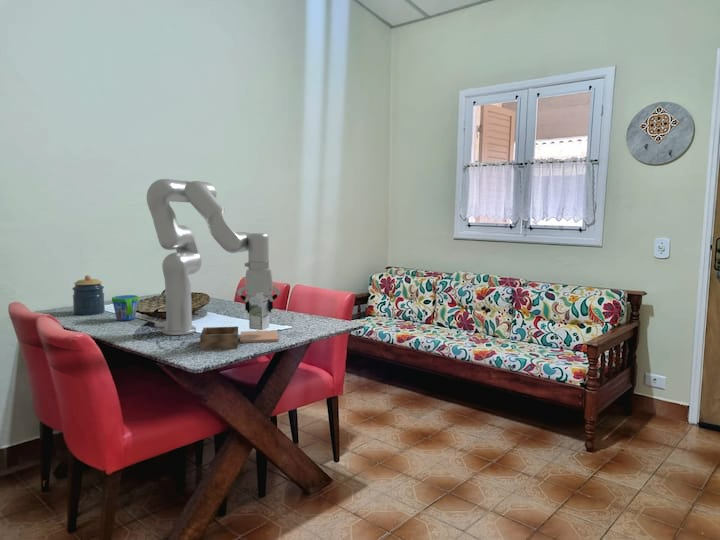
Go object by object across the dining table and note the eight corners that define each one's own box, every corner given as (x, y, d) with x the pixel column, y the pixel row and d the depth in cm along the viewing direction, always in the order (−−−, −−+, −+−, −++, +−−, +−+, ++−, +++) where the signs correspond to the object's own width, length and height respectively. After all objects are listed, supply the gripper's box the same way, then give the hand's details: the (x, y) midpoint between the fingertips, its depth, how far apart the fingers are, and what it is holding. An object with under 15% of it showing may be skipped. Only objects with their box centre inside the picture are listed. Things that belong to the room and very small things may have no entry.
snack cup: (111, 317, 226) (110, 294, 225) (136, 315, 231) (135, 293, 230) (114, 324, 213) (113, 300, 211) (141, 321, 218) (140, 298, 217)
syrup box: (269, 327, 195) (269, 290, 194) (261, 330, 190) (261, 292, 188) (256, 326, 197) (256, 289, 195) (248, 329, 191) (248, 291, 190)
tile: (239, 342, 186) (239, 340, 185) (240, 333, 199) (240, 331, 199) (278, 341, 188) (278, 338, 188) (276, 332, 202) (276, 330, 202)
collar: (200, 349, 176) (200, 335, 175) (203, 340, 188) (203, 327, 187) (237, 348, 178) (237, 334, 178) (238, 339, 190) (238, 326, 190)
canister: (78, 310, 240) (76, 273, 238) (107, 309, 243) (106, 273, 241) (69, 316, 228) (67, 277, 226) (101, 315, 231) (99, 276, 229)
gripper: (234, 267, 185) (235, 314, 187) (282, 266, 189) (282, 313, 191) (235, 265, 193) (236, 310, 195) (281, 264, 196) (281, 309, 198)
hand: (259, 311), depth 193 cm, fingers closed on syrup box, 7 cm apart
